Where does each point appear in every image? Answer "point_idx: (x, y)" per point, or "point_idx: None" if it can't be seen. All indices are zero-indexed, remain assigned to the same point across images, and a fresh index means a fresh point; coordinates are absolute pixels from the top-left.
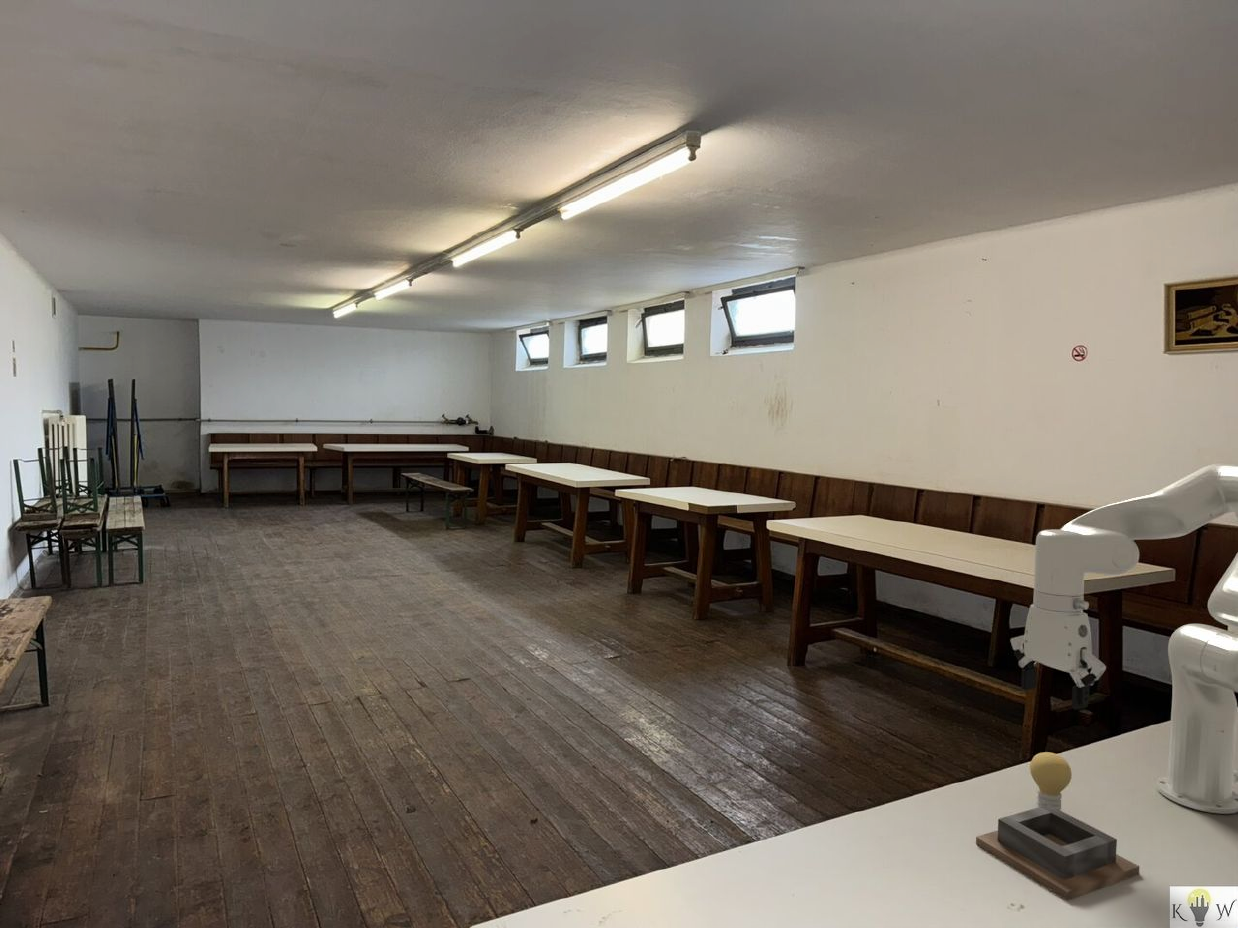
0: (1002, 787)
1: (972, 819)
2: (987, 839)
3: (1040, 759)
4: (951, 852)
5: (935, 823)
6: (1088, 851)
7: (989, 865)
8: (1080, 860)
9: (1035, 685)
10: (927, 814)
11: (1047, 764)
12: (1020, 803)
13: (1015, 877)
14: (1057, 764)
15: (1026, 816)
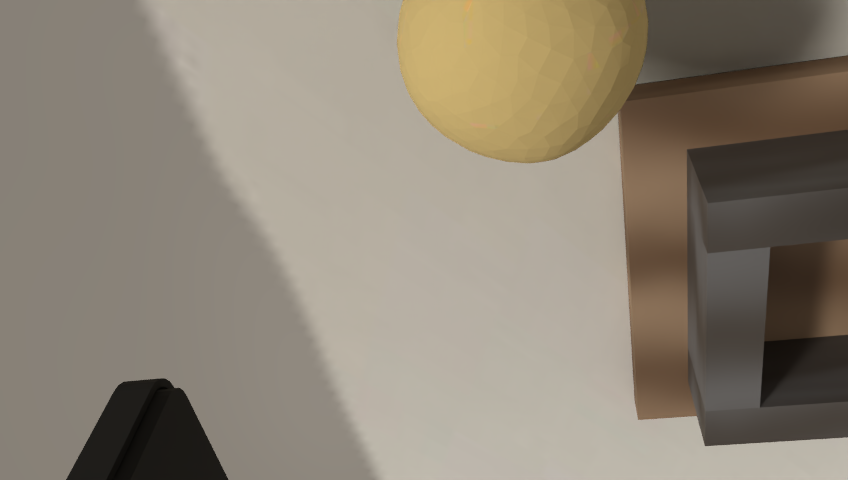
0: (266, 24)
1: (495, 318)
2: (668, 402)
3: (516, 156)
4: (644, 477)
5: (482, 427)
6: None
7: None
8: None
9: (176, 431)
10: (423, 416)
11: (572, 146)
12: None
13: None
14: (609, 100)
15: (741, 353)
